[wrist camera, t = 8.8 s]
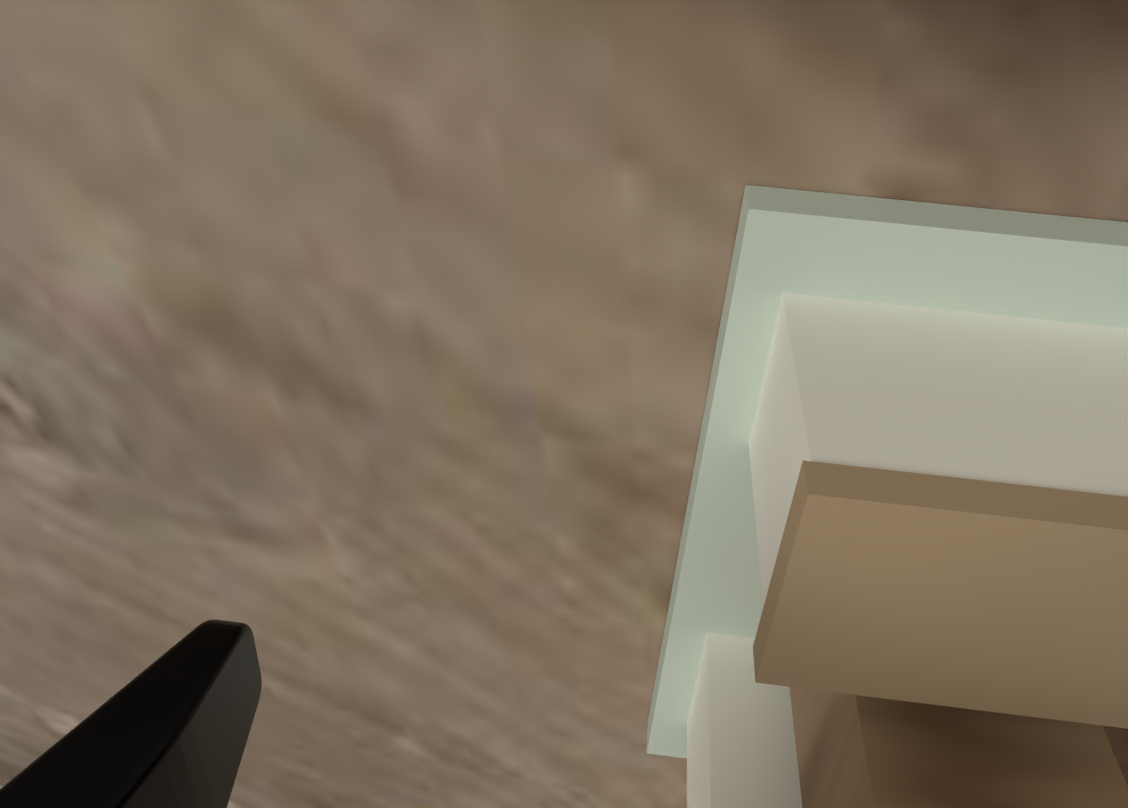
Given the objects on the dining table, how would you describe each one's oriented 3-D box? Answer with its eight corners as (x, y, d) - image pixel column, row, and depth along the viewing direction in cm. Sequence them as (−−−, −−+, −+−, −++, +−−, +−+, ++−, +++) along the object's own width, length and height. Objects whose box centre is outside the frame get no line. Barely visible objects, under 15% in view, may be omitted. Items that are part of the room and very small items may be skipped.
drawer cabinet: (1244, 234, 19) (1523, 486, 13) (967, 760, 30) (1043, 1041, 23) (746, 185, 19) (773, 404, 13) (648, 720, 30) (637, 984, 24)
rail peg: (1021, 505, 22) (1215, 957, 14) (958, 641, 25) (1089, 1083, 17) (814, 482, 22) (886, 912, 14) (775, 619, 25) (817, 1044, 17)
